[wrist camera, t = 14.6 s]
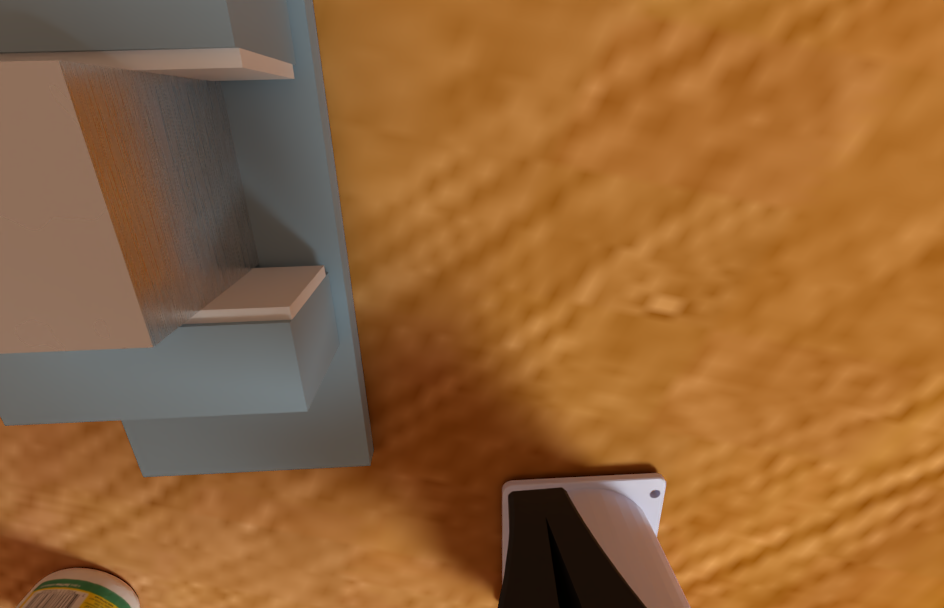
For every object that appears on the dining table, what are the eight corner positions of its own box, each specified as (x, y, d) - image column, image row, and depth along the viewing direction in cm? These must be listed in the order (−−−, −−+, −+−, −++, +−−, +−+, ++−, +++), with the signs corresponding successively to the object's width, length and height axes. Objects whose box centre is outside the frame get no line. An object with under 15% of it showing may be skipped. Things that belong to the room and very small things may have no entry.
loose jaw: (339, 344, 18) (307, 411, 14) (106, 354, 18) (5, 425, 14) (326, 261, 17) (287, 309, 13) (75, 271, 17) (-48, 323, 12)
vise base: (373, 450, 21) (350, 554, 16) (156, 461, 21) (64, 570, 16) (301, -81, 14) (214, -194, 9) (-42, -76, 14) (-338, -189, 8)
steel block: (259, 263, 17) (152, 347, 11) (148, 267, 17) (-23, 354, 11) (220, 82, 14) (58, 60, 8) (91, 85, 14) (-168, 65, 8)
